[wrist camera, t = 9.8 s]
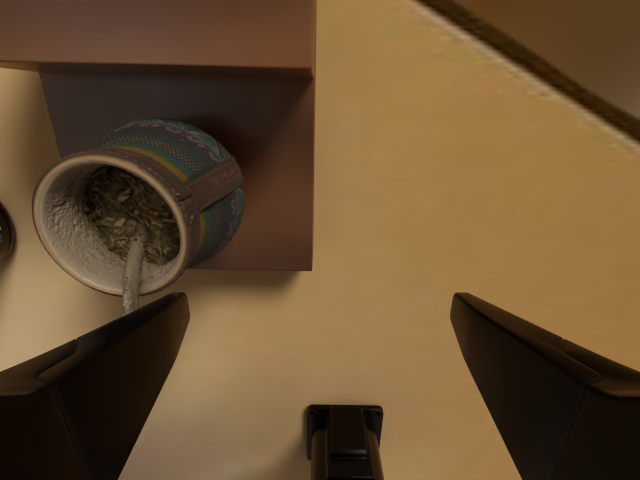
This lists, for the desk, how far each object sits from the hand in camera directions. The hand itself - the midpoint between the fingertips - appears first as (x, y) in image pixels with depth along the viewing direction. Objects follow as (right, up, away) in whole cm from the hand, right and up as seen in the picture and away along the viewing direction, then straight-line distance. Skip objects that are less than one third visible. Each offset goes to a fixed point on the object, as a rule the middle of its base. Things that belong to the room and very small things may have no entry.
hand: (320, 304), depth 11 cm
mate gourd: (-7, +5, +8) cm, 12 cm away
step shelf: (-7, +9, +10) cm, 15 cm away
